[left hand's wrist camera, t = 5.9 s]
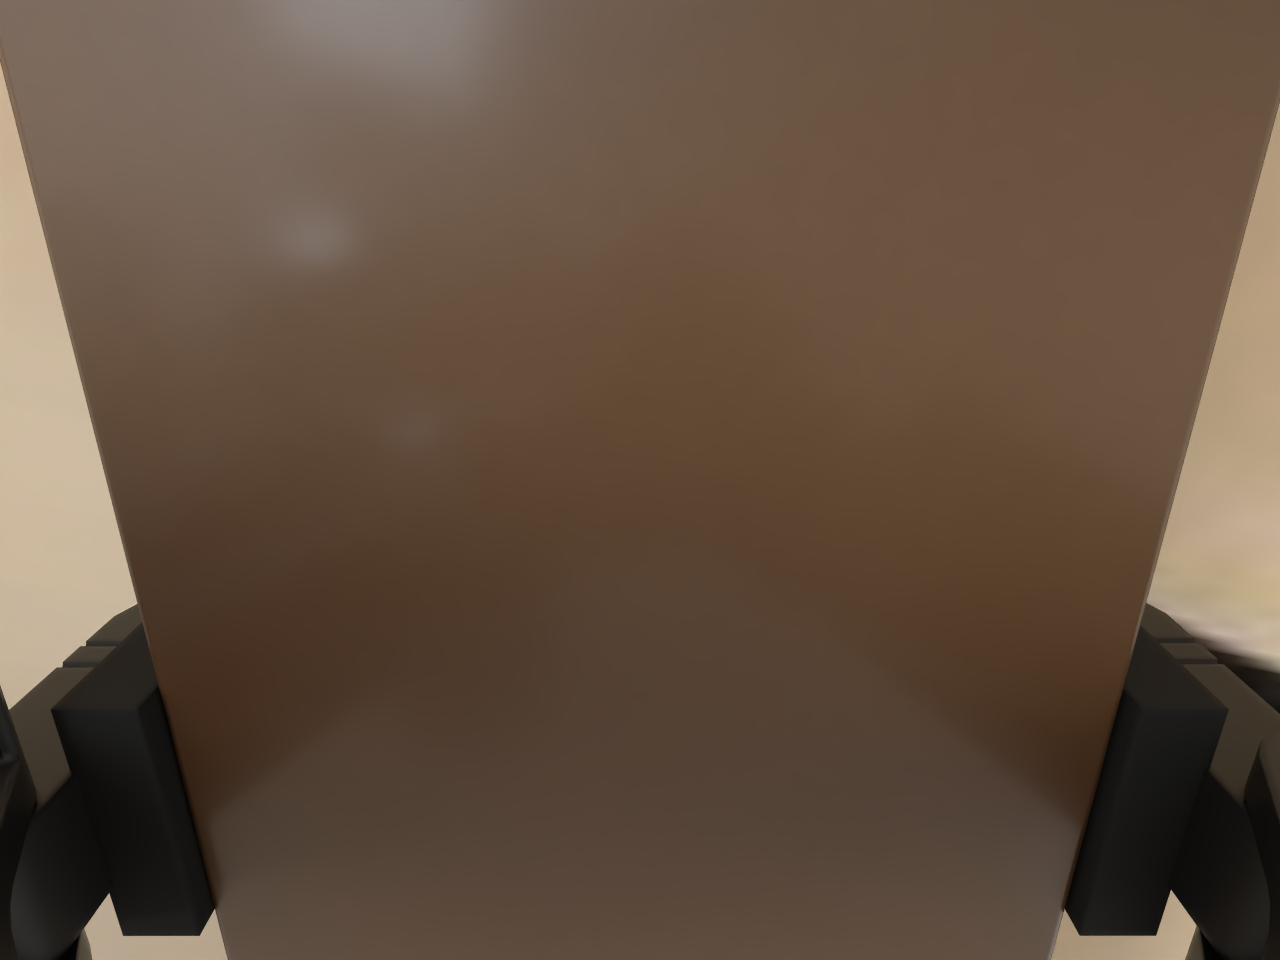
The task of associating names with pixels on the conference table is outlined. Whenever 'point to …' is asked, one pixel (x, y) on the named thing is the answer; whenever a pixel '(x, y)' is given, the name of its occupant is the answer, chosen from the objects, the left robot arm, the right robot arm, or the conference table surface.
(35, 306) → the conference table surface
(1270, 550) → the conference table surface
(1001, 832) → the thick board
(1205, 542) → the conference table surface
